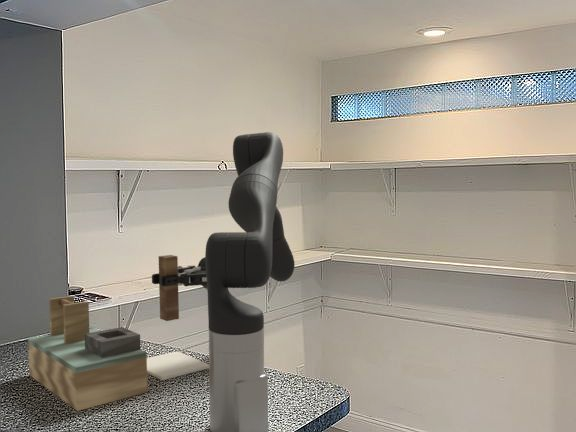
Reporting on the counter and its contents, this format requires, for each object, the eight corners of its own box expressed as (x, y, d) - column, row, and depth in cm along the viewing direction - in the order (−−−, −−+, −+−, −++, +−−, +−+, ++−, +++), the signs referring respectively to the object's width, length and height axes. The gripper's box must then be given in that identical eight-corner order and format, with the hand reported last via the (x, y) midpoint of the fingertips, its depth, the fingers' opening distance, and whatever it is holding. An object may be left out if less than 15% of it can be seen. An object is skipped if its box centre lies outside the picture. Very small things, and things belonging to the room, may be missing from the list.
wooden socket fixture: (147, 392, 117) (145, 311, 116) (77, 411, 108) (74, 324, 107) (92, 361, 137) (90, 292, 136) (29, 375, 127) (26, 301, 126)
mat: (210, 367, 132) (210, 365, 132) (162, 380, 124) (162, 377, 124) (177, 353, 142) (177, 351, 142) (130, 364, 134) (130, 361, 134)
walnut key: (178, 318, 132) (177, 256, 131) (166, 321, 130) (165, 257, 129) (171, 316, 135) (170, 254, 133) (160, 318, 133) (158, 256, 131)
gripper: (205, 252, 146) (140, 259, 135) (239, 258, 136) (172, 267, 124) (205, 282, 147) (141, 292, 135) (239, 291, 136) (173, 302, 125)
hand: (157, 280), depth 130 cm, fingers closed on walnut key, 3 cm apart
